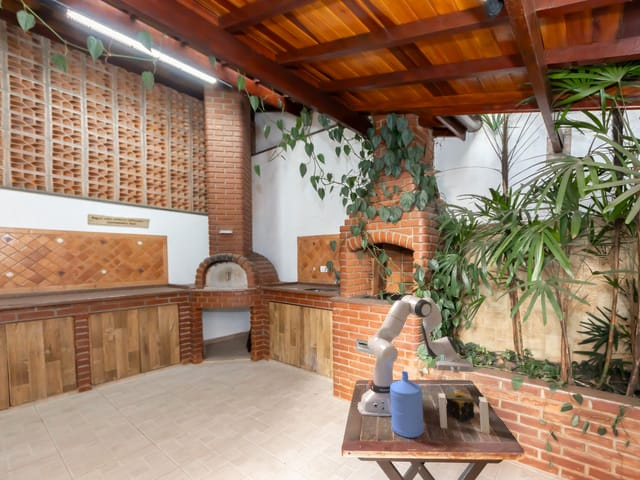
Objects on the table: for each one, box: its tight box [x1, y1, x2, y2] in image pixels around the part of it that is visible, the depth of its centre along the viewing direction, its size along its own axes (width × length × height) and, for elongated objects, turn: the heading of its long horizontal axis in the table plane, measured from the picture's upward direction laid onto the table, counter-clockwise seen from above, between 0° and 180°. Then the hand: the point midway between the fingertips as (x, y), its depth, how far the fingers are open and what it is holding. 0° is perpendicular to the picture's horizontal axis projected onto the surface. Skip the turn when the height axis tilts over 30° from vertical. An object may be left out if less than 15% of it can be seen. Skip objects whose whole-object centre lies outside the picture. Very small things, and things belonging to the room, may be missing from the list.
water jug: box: [390, 370, 425, 439], centre depth 152 cm, size 16×16×28 cm
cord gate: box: [438, 392, 490, 435], centre depth 151 cm, size 22×5×15 cm, turn 73°
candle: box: [445, 391, 475, 423], centre depth 163 cm, size 10×10×10 cm
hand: (456, 371), depth 173 cm, fingers closed
